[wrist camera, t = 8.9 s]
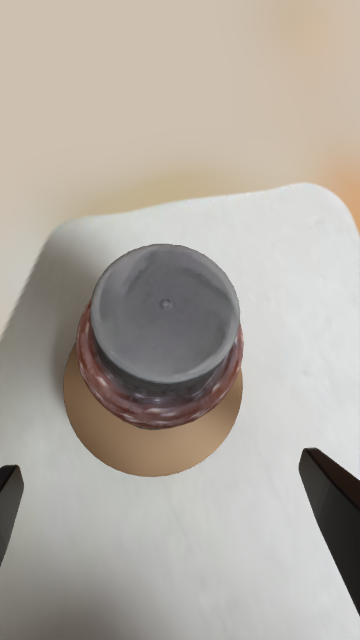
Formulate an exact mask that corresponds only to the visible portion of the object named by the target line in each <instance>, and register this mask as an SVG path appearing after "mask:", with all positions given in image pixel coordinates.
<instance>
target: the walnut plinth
mask: <svg viewBox="0 0 360 640" xmlns="http://www.w3.org/2000/svg"><path fill="white" fill-rule="evenodd" d="M242 390H243V383H242V372H241V367H240V370H239V373H238V376H237V378H236V380H235V382H234V384H233V386H232V387H231V389H230V390H229V392H228V393H227V395H226V396H225V397H224V399H223V400H222V401H221V402H220V403H219V404H218V405H217V406H216V407H215V408H213V409H212V410H211V411H210V412H208V413H207V414H205V415H204V416H202V417H200V418H198V419H197V420H195V421H193V422H190V423H187V424H185V425H181V426H177V427H174V428H169V429H161V430H147V429H141V428H138V427H136V426H133V425H131V424H129V423H126V422H124V421H122V420H121V419H119V418H117V417H116V416H114V415H113V414H112V413H111V412H109V411H108V410H107V409H105V408H104V407H103V406H102V405H101V404H100V403H99V402H98V401H97V400H96V399H95V397H94V396H93V395H92V393H91V392H90V390H89V389H88V387H87V385H86V383H85V382H84V380H83V378H82V376H81V373H80V369H79V366H78V360H77V355H76V343H75V345H74V347H73V349H72V351H71V353H70V355H69V358H68V361H67V364H66V369H65V374H64V385H63V392H64V403H65V407H66V412H67V415H68V418H69V421H70V423H71V426H72V428H73V430H74V431H75V433H76V435H77V437H78V438H79V439H80V441H81V442H82V443H83V445H84V446H85V447H86V448H87V449H88V450H89V451H90V452H91V453H92V454H93V455H94V456H95V457H96V458H98V459H99V460H100V461H102V462H103V463H105V464H106V465H108V466H110V467H112V468H114V469H116V470H119V471H122V472H124V473H127V474H132V475H137V476H145V477H158V476H167V475H171V474H175V473H179V472H182V471H184V470H187V469H189V468H192V467H193V466H195V465H197V464H198V463H200V462H202V461H203V460H205V459H206V458H207V457H208V456H210V455H211V454H212V453H213V452H214V451H215V450H216V449H217V448H218V447H219V446H220V445H221V444H222V442H223V441H224V440H225V438H226V437H227V435H228V434H229V432H230V430H231V429H232V427H233V425H234V423H235V420H236V418H237V415H238V412H239V409H240V404H241V400H242Z"/></svg>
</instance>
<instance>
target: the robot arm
mask: <svg viewBox="0 0 360 640" xmlns="http://www.w3.org/2000/svg"><path fill="white" fill-rule="evenodd" d="M299 473H300V476H301V479H302V482H303V485H304V488H305V490H306V493H307V496H308V499H309V502H310V505H311V507H312V510H313V513H314V516H315V519H316V521H317V524H318V526H319V528H320V531H321V533H322V535H323V537H324V539H325V542H326V544H327V546H328V548H329V550H330V552H331V555H332V557H333V559H334V561H335V563H336V566H337V568H338V570H339V572H340V574H341V576H342V579H343V581H344V583H345V585H346V587H347V590H348V592H349V594H350V596H351V598H352V600H353V603H354V605H355V607H356V609H357V611H358V614H359V616H360V480H358V479H357V478H356V477H354V476H353V475H352V474H350V473H349V472H348V471H347V470H345V469H344V468H343V467H341V466H340V465H339V464H337V463H336V462H335V461H333V460H332V459H331V458H329V457H328V456H327V455H326V454H324V453H323V452H322V451H320V450H319V449H317V448H304V449H303V451H302V455H301V459H300V462H299ZM23 489H24V482H23V478H22V475H21V471H20V468H19V466H18V465H5V466H3V467H1V468H0V566H1V563H2V561H3V558H4V555H5V553H6V550H7V547H8V543H9V540H10V537H11V533H12V529H13V526H14V522H15V519H16V515H17V512H18V508H19V505H20V501H21V497H22V494H23Z"/></svg>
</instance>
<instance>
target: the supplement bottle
mask: <svg viewBox="0 0 360 640" xmlns="http://www.w3.org/2000/svg"><path fill="white" fill-rule="evenodd" d="M243 345H244V342H243V333H242V329H241V324H240V308H239V300H238V298H237V295H236V292H235V289H234V286H233V285H232V283H231V282H230V280H229V278H228V277H227V275H226V274H225V272H224V271H223V270H222V269H221V268H220V267H219V266H218V265H217V264H216V263H215V262H213V261H212V260H211V259H209V258H208V257H207V256H205V255H204V254H201V253H200V252H198V251H196V250H193V249H190V248H188V247H185V246H181V245H172V244H152V245H149V246H143V247H140V248H138V249H134V250H132V251H130V252H128V253H126V254H124V255H122V256H121V257H119V258H118V259H117V260H115V261H114V262H113V263H112V264H111V265H110V266H109V267H108V268H107V269H106V270H105V271H104V273H103V274H102V276H101V277H100V278H99V281H98V282H97V284H96V286H95V289H94V291H93V295H92V298H91V299H90V301H89V303H88V304H87V305H86V307H85V310H84V312H83V314H82V316H81V319H80V322H79V326H78V330H77V337H76V355H77V360H78V366H79V369H80V373H81V376H82V378H83V380H84V382H85V383H86V385H87V387H88V389H89V390H90V392H91V393H92V395H93V396H94V397H95V399H96V400H97V401H98V402H99V403H100V404H101V405H102V406H103V407H104V408H105V409H107V410H108V411H109V412H111V413H112V414H113V415H114V416H116V417H117V418H119V419H121V420H122V421H124V422H126V423H129V424H131V425H133V426H136V427H138V428H141V429H147V430H161V429H169V428H174V427H177V426H181V425H185V424H187V423H190V422H193V421H195V420H197V419H198V418H200V417H202V416H204V415H205V414H207V413H208V412H210V411H211V410H212V409H213V408H215V407H216V406H217V405H218V404H219V403H220V402H221V401H222V400H223V399H224V397H225V396H226V395H227V393H228V392H229V390H230V389H231V387H232V386H233V384H234V382H235V380H236V378H237V376H238V373H239V370H240V367H241V362H242V357H243Z"/></svg>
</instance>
